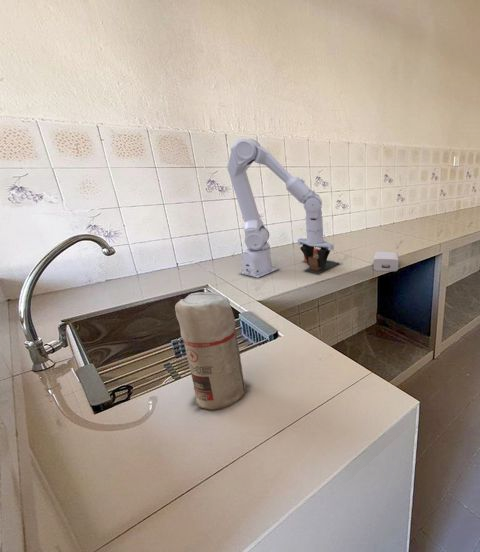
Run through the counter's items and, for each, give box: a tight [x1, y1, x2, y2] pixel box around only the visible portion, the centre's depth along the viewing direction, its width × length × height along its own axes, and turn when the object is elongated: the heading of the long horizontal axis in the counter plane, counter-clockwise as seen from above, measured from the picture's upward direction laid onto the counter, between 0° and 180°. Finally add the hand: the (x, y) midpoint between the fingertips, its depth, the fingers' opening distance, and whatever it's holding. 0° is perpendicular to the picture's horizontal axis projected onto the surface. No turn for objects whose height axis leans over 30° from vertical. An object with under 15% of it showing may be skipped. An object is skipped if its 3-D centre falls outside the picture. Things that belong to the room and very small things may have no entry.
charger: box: [373, 251, 399, 272], centre depth 131 cm, size 5×9×15 cm
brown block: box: [308, 254, 325, 272], centre depth 122 cm, size 4×4×5 cm
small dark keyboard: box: [304, 260, 340, 275], centre depth 126 cm, size 13×6×1 cm, turn 155°
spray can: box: [174, 291, 247, 410], centre depth 58 cm, size 8×8×20 cm
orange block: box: [303, 247, 319, 263], centre depth 131 cm, size 5×4×5 cm
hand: (316, 265), depth 122 cm, fingers open, 5 cm apart
